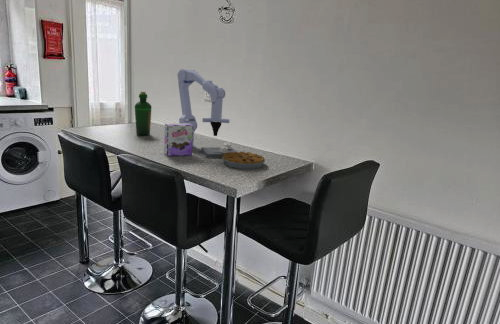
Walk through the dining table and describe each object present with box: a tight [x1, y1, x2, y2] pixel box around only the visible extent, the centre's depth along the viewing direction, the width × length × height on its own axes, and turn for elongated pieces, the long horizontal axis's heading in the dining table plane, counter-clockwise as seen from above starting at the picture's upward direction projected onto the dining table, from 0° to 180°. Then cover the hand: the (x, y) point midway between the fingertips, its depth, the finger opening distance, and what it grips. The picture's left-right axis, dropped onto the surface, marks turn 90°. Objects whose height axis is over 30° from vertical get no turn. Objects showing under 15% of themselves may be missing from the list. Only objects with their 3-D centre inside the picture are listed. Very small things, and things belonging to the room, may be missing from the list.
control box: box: [200, 146, 238, 159], centre depth 189 cm, size 18×16×2 cm
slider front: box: [220, 145, 228, 153], centre depth 185 cm, size 3×4×3 cm
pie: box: [221, 151, 266, 170], centre depth 173 cm, size 22×22×5 cm
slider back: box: [223, 142, 232, 149], centre depth 194 cm, size 3×4×3 cm
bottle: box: [134, 91, 152, 137], centre depth 222 cm, size 11×11×28 cm
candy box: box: [163, 122, 193, 157], centre depth 179 cm, size 14×6×16 cm, turn 117°
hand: (215, 135), depth 187 cm, fingers closed
